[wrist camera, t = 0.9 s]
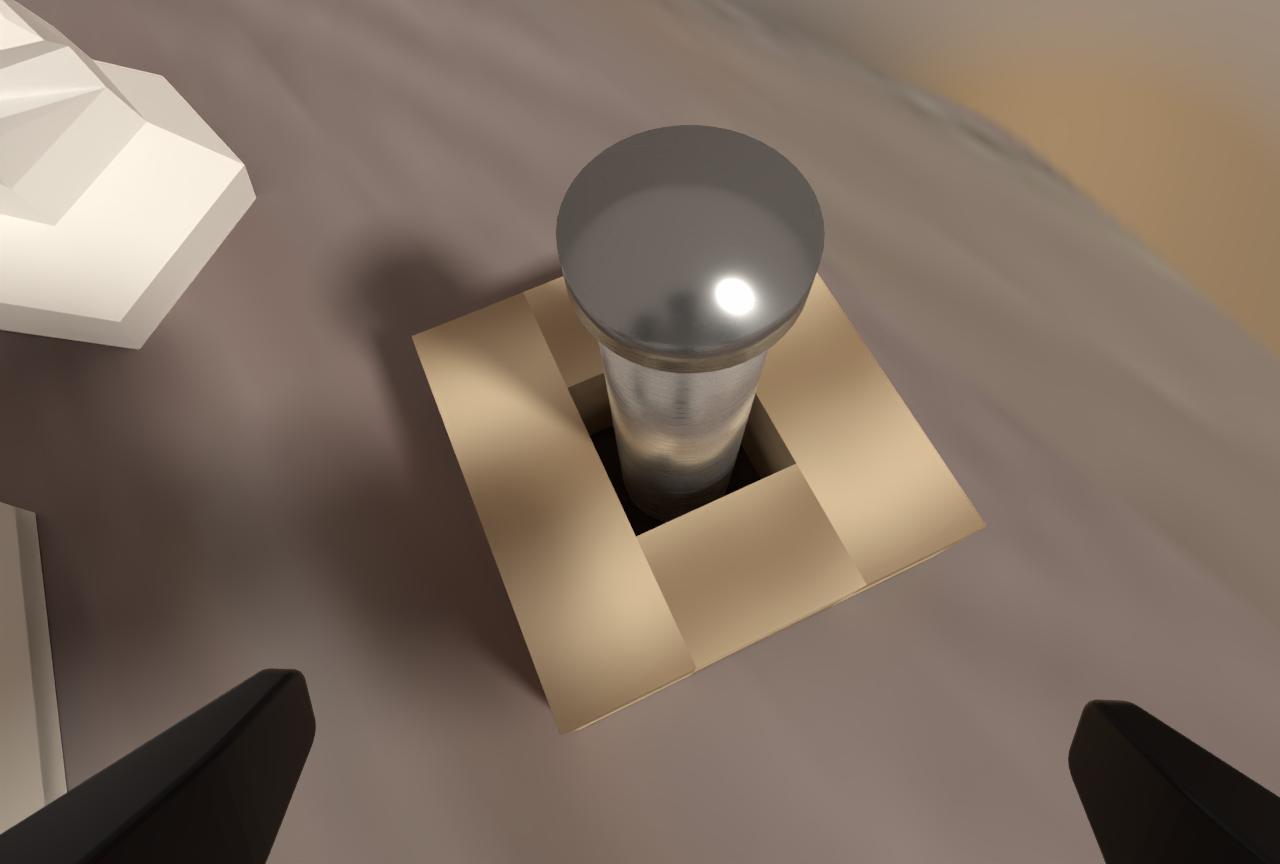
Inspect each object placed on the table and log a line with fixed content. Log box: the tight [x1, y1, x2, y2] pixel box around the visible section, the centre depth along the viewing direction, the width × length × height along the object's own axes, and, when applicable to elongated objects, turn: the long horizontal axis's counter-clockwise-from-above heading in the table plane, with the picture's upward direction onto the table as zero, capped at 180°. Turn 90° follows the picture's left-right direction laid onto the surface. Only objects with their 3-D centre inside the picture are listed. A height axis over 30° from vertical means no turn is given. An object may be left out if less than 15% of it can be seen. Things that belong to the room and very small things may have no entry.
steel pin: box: [556, 125, 825, 522], centre depth 17 cm, size 4×4×12 cm
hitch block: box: [411, 273, 986, 735], centre depth 21 cm, size 12×12×4 cm
